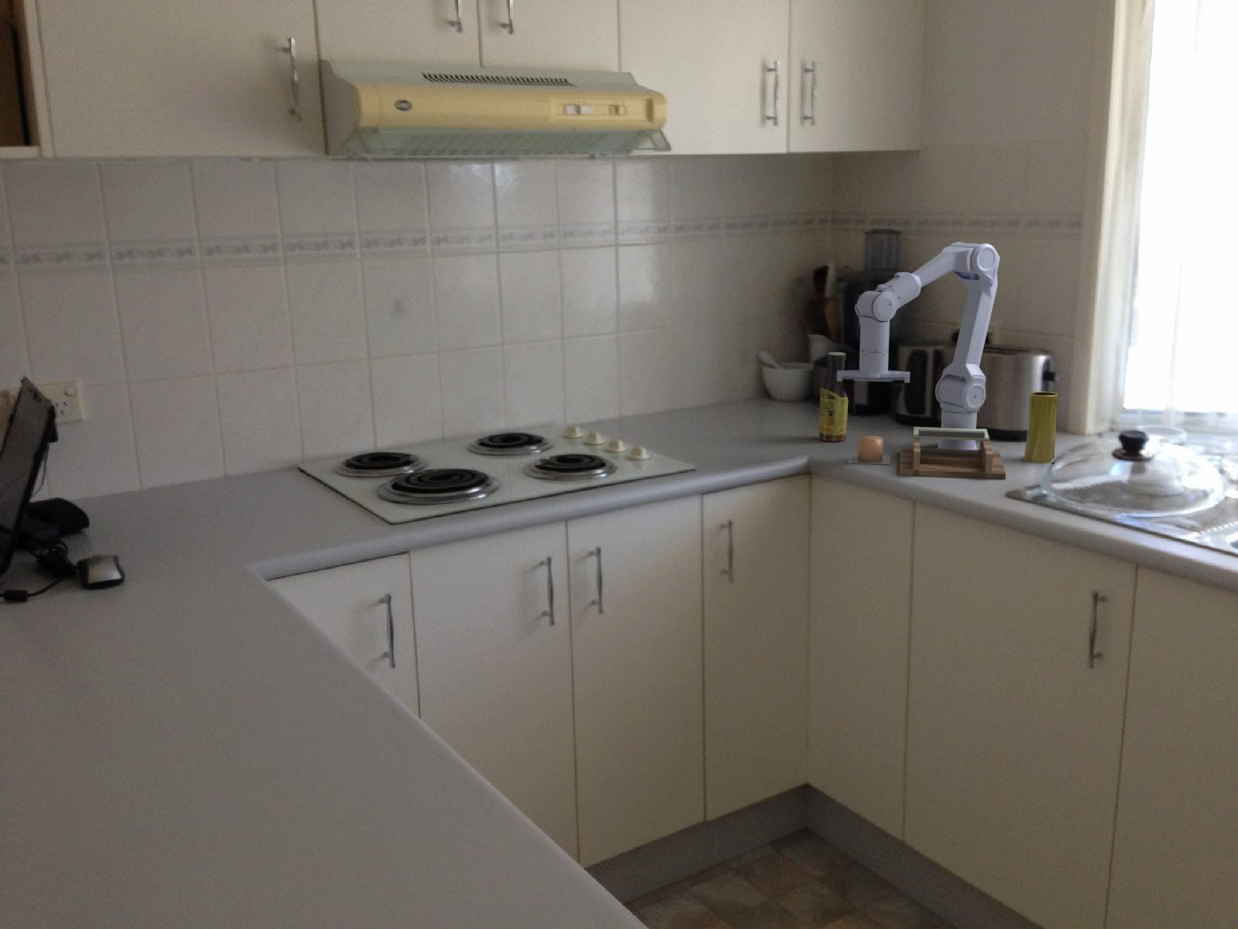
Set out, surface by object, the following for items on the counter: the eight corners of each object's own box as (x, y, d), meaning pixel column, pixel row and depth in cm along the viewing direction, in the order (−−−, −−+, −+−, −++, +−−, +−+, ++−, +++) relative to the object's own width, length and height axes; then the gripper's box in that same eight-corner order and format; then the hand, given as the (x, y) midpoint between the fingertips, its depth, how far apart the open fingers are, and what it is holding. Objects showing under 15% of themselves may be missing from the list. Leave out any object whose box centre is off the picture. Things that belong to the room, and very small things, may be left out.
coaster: (851, 456, 245) (851, 453, 245) (890, 458, 243) (890, 455, 243) (849, 465, 238) (850, 462, 238) (889, 466, 236) (889, 464, 236)
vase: (1027, 456, 242) (1031, 389, 239) (1057, 459, 239) (1062, 392, 236) (1020, 462, 237) (1025, 394, 234) (1051, 466, 234) (1056, 397, 231)
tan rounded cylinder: (857, 456, 243) (858, 435, 242) (882, 456, 242) (882, 435, 241) (858, 461, 238) (858, 440, 237) (882, 462, 237) (883, 441, 236)
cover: (913, 429, 245) (914, 421, 245) (986, 431, 242) (986, 424, 242) (913, 438, 237) (914, 430, 237) (989, 440, 233) (989, 433, 233)
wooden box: (900, 454, 247) (901, 429, 245) (997, 457, 242) (999, 432, 241) (899, 476, 228) (900, 450, 227) (1005, 481, 223) (1007, 454, 222)
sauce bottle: (813, 438, 263) (815, 352, 258) (835, 435, 266) (838, 350, 261) (829, 444, 257) (832, 355, 253) (852, 441, 260) (855, 353, 255)
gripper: (836, 352, 233) (835, 418, 236) (910, 353, 230) (908, 420, 233) (839, 348, 240) (837, 412, 243) (910, 348, 236) (908, 413, 239)
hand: (872, 415), depth 238 cm, fingers open, 7 cm apart
